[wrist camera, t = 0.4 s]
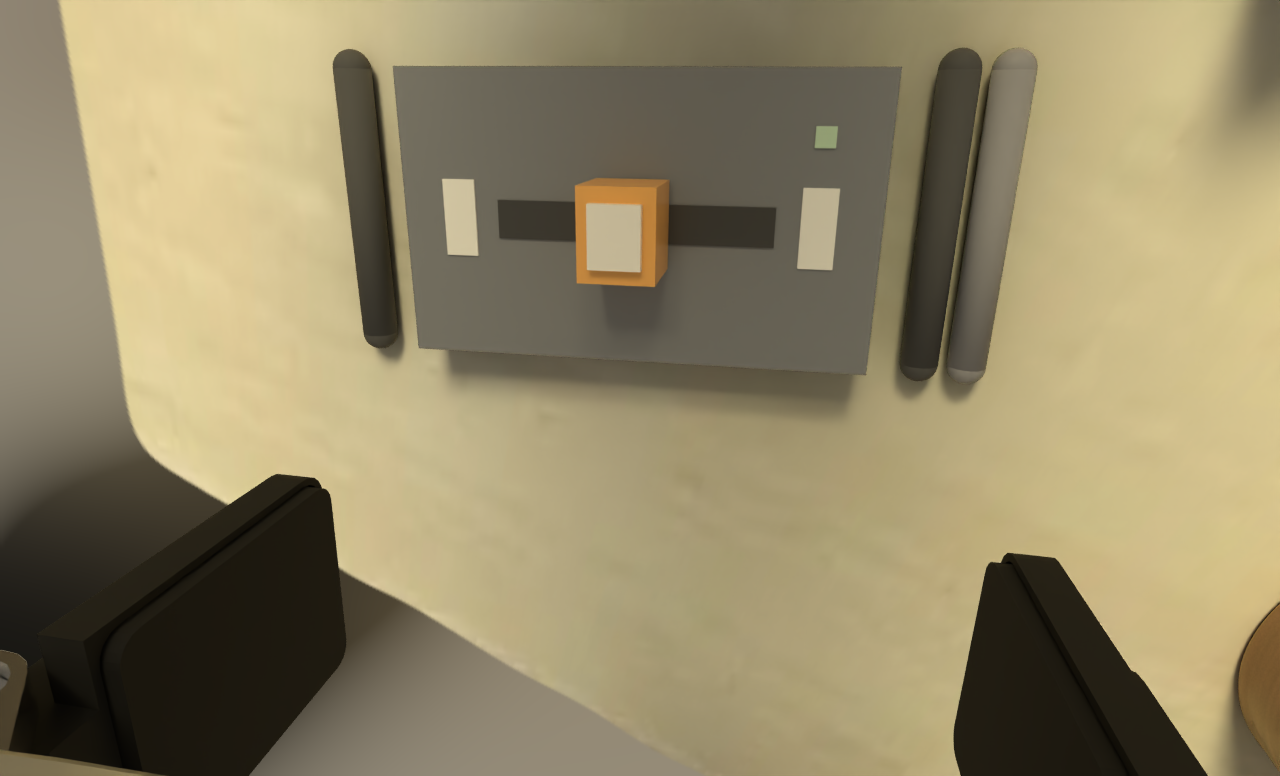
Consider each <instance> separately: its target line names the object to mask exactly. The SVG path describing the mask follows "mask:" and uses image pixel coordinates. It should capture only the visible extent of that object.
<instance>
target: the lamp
mask: <svg viewBox="0 0 1280 776" xmlns="http://www.w3.org/2000/svg"><path fill="white" fill-rule="evenodd" d="M1238 695H1239V702H1240V707H1241V711H1242V714H1243V717H1244V719H1245V721H1246V724H1247V726H1248V728H1249V729H1250V731H1251V733H1252V734H1253V736H1254V737H1255V739H1256V740H1257V742H1258V743H1259V744H1260V746H1261V747H1262V748H1263V749H1264V751H1265V752H1266V754H1267V755H1268V757H1269V758H1270V759H1271V761H1272V762H1273V764H1274V765H1275V767H1276V768H1277V769H1278V771H1279V772H1280V604H1279V605H1278V606H1277V607H1276V608H1275V609H1274V610H1273V611H1272V612H1271V613H1270V614H1269V615H1268V616H1267V618H1266V619H1265V620H1264V621H1263V622H1262V624H1261V625H1260V626H1259V628H1258V629H1257V630H1256V632H1255V633H1254V635H1253V636H1252V638H1251V640H1250V642H1249V644H1248V646H1247V648H1246V650H1245V652H1244V655H1243V658H1242V661H1241V665H1240V670H1239V677H1238Z"/></svg>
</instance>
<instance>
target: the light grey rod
mask: <svg viewBox="0 0 1280 776" xmlns="http://www.w3.org/2000/svg"><path fill="white" fill-rule="evenodd" d="M1036 74H1037V60H1036V58H1035V56H1034V55H1033V53H1031V52H1030V51H1029V50H1027V49H1024V48H1012V49H1009V50H1007V51H1005V52H1004V53H1002V54H1001V55H1000V56H999V57H998V58H997V59H996V61H995V62H994V64H993V67H992V71H991V78H990V84H989V91H988V97H987V104H986V110H985V117H984V123H983V130H982V136H981V143H980V149H979V156H978V162H977V169H976V175H975V182H974V188H973V195H972V201H971V208H970V215H969V221H968V228H967V234H966V241H965V247H964V254H963V260H962V267H961V273H960V280H959V286H958V293H957V299H956V306H955V312H954V319H953V325H952V332H951V338H950V345H949V351H948V358H947V366H946V367H947V372H948V374H949V376H950V377H951V378H952V379H953V380H954V381H956V382H958V383H961V384H970V383H974V382H976V381H978V380H979V379H980V378H981V377H982V376H983V374H984V373H985V369H986V364H987V358H988V353H989V347H990V341H991V335H992V329H993V324H994V318H995V312H996V306H997V300H998V295H999V289H1000V283H1001V277H1002V271H1003V266H1004V260H1005V254H1006V248H1007V242H1008V237H1009V231H1010V225H1011V219H1012V213H1013V208H1014V202H1015V196H1016V190H1017V184H1018V179H1019V173H1020V167H1021V161H1022V155H1023V150H1024V144H1025V138H1026V132H1027V126H1028V121H1029V115H1030V109H1031V103H1032V97H1033V92H1034V86H1035V80H1036Z"/></svg>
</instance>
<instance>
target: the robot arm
mask: <svg viewBox="0 0 1280 776" xmlns="http://www.w3.org/2000/svg"><path fill="white" fill-rule="evenodd" d="M37 637H38V641H39V645H40V649H41V653H42V656H43V658H42V659H41V660H39V661H38V662H36V663H35V664H34V665H32V666H31V667H29V668H28V666H27V662H26V661H25V660H24V659H23V658H22V657H21V656H20V655H18V654H16V653H12V652H7V651H3V650H0V776H249V775H250V773H251V772H252V771H253V770H254V769H255V767H256V766H257V765H258V764H259V763H260V761H261V760H262V759H263V758H264V756H265V755H266V754H267V753H268V752H269V750H270V749H271V748H272V747H273V745H274V744H275V743H276V742H277V741H278V739H279V738H280V737H281V736H282V735H283V733H284V732H285V731H286V730H287V729H288V727H289V726H290V725H291V724H292V722H293V721H294V720H295V719H296V718H297V716H298V715H299V714H300V712H302V710H303V709H304V708H305V707H306V705H307V704H308V703H309V702H310V701H311V699H312V698H313V697H314V696H315V694H316V693H317V692H318V691H319V690H320V688H321V687H322V686H323V685H324V684H325V682H326V681H327V680H328V679H329V678H330V676H331V675H332V674H333V673H334V671H335V670H336V669H337V668H338V666H339V665H340V663H341V661H342V659H343V657H344V653H345V648H346V633H345V624H344V614H343V605H342V596H341V587H340V578H339V568H338V559H337V550H336V540H335V531H334V522H333V512H332V503H331V497H330V494H329V492H328V491H327V490H326V489H322V487H321V485H320V483H319V481H318V480H316V479H315V478H310V477H301V476H291V475H282V474H276V475H273V476H271V477H269V478H268V479H266V480H265V481H264V482H262V483H261V484H259V485H258V486H256V487H255V488H253V489H252V490H250V491H249V492H247V493H246V494H244V495H243V496H241V497H240V498H238V499H237V500H235V501H234V502H232V503H231V504H229V505H228V506H226V507H225V508H224V509H222V510H221V511H219V512H218V513H216V514H215V515H213V516H212V517H210V518H209V519H207V520H206V521H204V522H203V523H201V524H200V525H198V526H197V527H196V528H194V529H192V530H191V531H189V532H188V533H186V534H185V535H183V536H182V537H180V538H179V539H177V540H176V541H175V542H173V543H172V544H170V545H169V546H167V547H166V548H164V549H163V550H162V551H160V552H158V553H157V554H155V555H154V556H152V557H151V558H149V559H148V560H146V561H145V562H143V563H142V564H140V565H139V566H137V567H136V568H134V569H133V570H132V571H130V572H129V573H127V574H126V575H124V576H123V577H121V578H120V579H118V580H117V581H115V582H114V583H112V584H111V585H109V586H108V587H106V588H105V589H103V590H102V591H101V592H99V593H97V594H96V595H94V596H93V597H91V598H90V599H88V600H87V601H86V602H84V603H83V604H81V605H80V606H78V607H77V608H75V609H74V610H72V611H71V612H69V613H68V614H66V615H65V616H63V617H62V618H60V619H59V620H57V621H56V622H55V623H53V624H51V625H50V626H48V627H47V628H46V629H44V630H43V631H41V632H40V633H38V634H37ZM954 751H955V757H956V761H957V764H958V767H959V771H960V774H961V776H1208V775H1207V774H1206V772H1205V771H1204V769H1203V768H1202V766H1201V765H1200V763H1199V762H1198V760H1197V759H1196V757H1195V756H1194V755H1193V753H1192V752H1191V750H1190V749H1189V747H1188V746H1187V744H1186V743H1185V741H1184V740H1183V738H1182V737H1181V735H1180V734H1179V732H1178V731H1177V729H1176V728H1175V726H1174V725H1173V724H1172V722H1171V721H1170V719H1169V718H1168V716H1167V715H1166V713H1165V712H1164V710H1163V709H1162V707H1161V706H1160V704H1159V703H1158V701H1157V700H1156V698H1155V697H1154V695H1153V694H1152V692H1151V691H1150V690H1149V688H1148V687H1147V685H1146V684H1145V682H1144V681H1143V680H1142V679H1141V678H1140V676H1139V675H1138V674H1137V673H1136V672H1133V671H1131V670H1130V668H1129V667H1128V665H1127V664H1126V662H1125V661H1124V659H1123V658H1122V656H1121V655H1120V653H1119V652H1118V650H1117V649H1116V647H1115V646H1114V644H1113V643H1112V641H1111V640H1110V638H1109V637H1108V635H1107V634H1106V632H1105V631H1104V629H1103V628H1102V626H1101V625H1100V623H1099V622H1098V620H1097V619H1096V617H1095V616H1094V614H1093V613H1092V611H1091V610H1090V608H1089V607H1088V605H1087V604H1086V602H1085V601H1084V599H1083V598H1082V596H1081V595H1080V593H1079V592H1078V590H1077V589H1076V587H1075V586H1074V584H1073V583H1072V581H1071V580H1070V578H1069V577H1068V575H1067V574H1066V572H1065V571H1064V569H1063V568H1062V566H1061V565H1060V563H1059V562H1058V561H1057V560H1056V559H1055V558H1051V557H1041V556H1032V555H1023V554H1014V553H1007V554H1006V555H1005V556H1004V557H1003V559H1002V561H1001V563H995V562H990V563H989V564H988V566H987V568H986V572H985V576H984V581H983V586H982V591H981V596H980V601H979V606H978V611H977V616H976V621H975V626H974V631H973V636H972V641H971V646H970V651H969V656H968V661H967V666H966V671H965V676H964V681H963V686H962V691H961V696H960V701H959V706H958V711H957V716H956V721H955V726H954Z"/></svg>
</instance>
